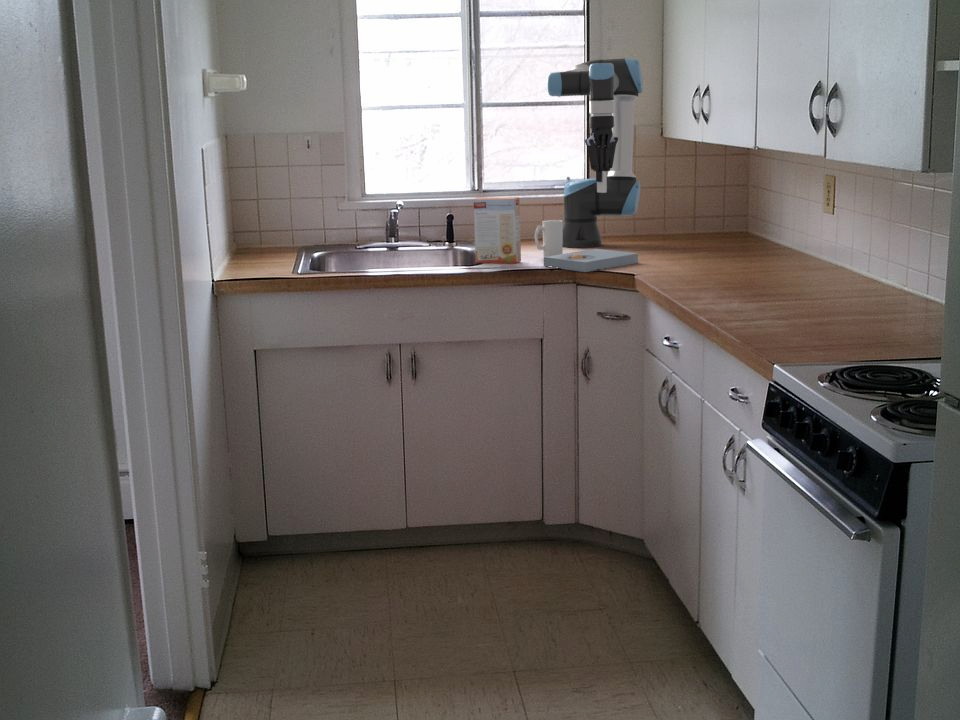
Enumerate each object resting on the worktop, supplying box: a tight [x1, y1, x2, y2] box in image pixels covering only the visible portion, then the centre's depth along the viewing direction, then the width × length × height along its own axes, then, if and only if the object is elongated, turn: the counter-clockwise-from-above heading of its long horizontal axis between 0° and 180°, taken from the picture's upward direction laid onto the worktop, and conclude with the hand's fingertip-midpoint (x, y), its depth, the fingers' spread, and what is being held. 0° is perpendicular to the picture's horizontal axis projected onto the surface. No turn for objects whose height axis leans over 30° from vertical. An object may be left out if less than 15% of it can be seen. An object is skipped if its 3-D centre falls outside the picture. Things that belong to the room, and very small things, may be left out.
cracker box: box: [473, 196, 522, 265], centre depth 336 cm, size 14×6×21 cm, turn 72°
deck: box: [543, 248, 639, 273], centre depth 328 cm, size 24×18×3 cm
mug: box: [534, 219, 564, 258], centre depth 345 cm, size 10×7×12 cm, turn 113°
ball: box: [571, 254, 583, 259], centre depth 325 cm, size 4×4×4 cm
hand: (601, 192), depth 327 cm, fingers closed
